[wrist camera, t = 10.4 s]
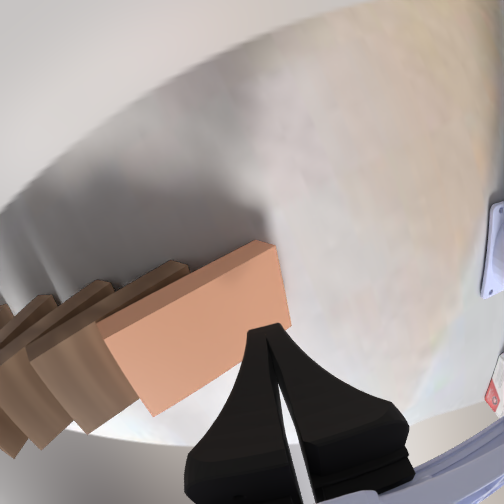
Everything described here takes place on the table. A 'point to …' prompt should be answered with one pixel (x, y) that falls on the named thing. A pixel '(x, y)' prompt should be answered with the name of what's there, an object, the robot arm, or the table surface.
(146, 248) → the table surface
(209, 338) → the head domino
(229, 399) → the robot arm
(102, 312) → the domino
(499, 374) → the ink cartridge box
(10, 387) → the domino
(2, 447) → the domino
